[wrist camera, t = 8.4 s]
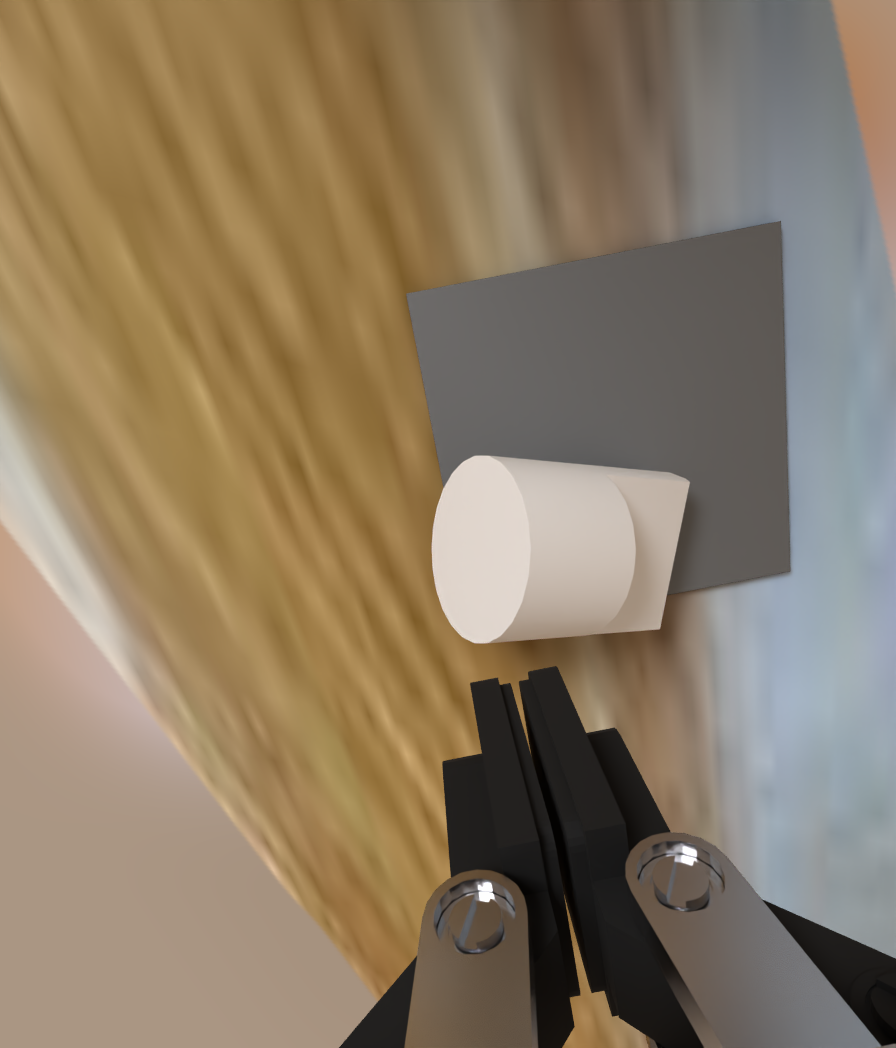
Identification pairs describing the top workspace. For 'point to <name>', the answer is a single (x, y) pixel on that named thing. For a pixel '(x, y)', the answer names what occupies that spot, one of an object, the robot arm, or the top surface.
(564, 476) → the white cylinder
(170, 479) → the top surface
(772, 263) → the mat
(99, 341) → the top surface
